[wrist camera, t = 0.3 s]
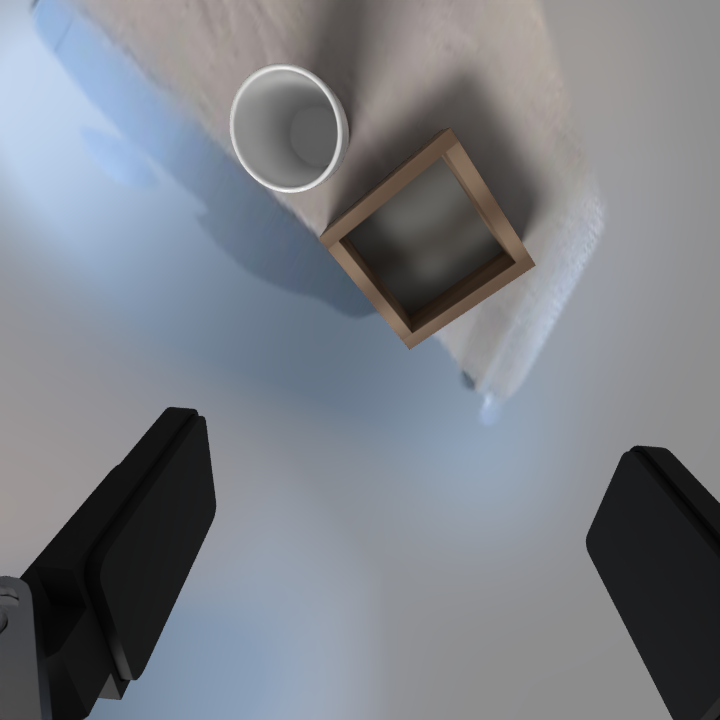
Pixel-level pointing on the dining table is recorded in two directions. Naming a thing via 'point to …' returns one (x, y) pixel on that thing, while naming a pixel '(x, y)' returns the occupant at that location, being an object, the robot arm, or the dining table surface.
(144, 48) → the dining table surface
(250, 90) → the drinking glass
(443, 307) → the caddy
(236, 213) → the dining table surface
